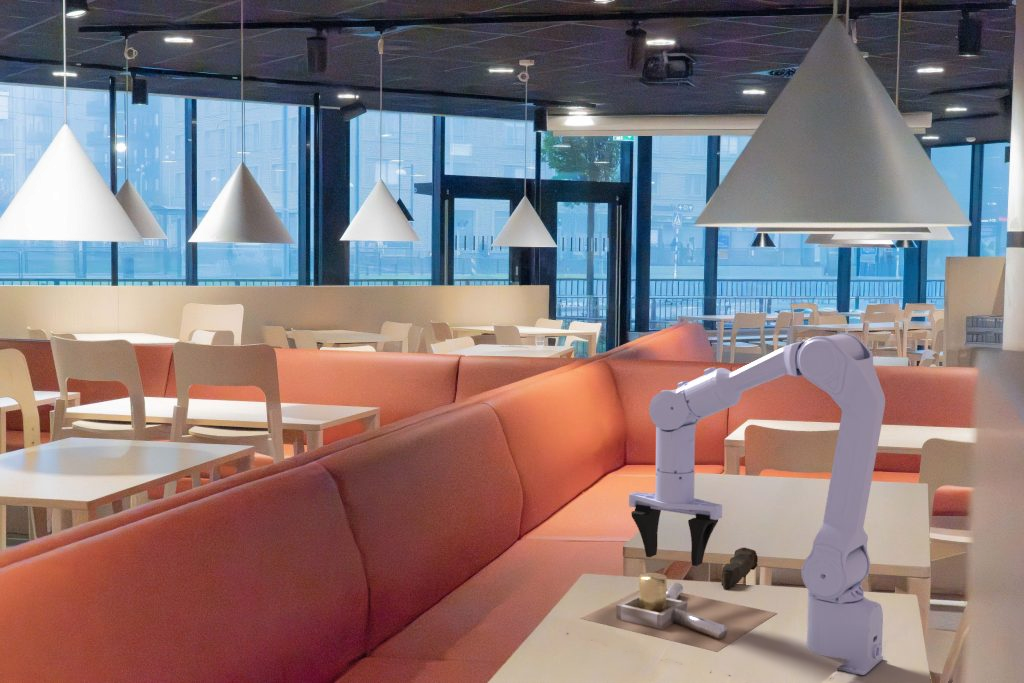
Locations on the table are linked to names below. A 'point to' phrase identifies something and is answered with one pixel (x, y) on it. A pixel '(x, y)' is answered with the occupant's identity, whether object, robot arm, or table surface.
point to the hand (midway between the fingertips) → (673, 559)
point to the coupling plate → (661, 625)
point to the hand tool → (738, 567)
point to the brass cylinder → (652, 592)
